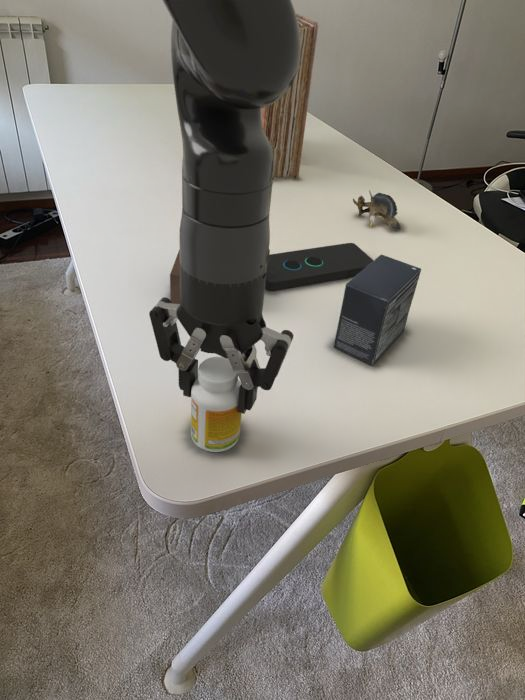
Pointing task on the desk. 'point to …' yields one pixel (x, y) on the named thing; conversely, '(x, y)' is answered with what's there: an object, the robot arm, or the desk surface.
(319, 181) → the desk surface
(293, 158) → the book
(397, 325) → the small box
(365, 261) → the smart home device
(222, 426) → the supplement bottle
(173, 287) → the walnut block
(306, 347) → the desk surface
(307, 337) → the desk surface
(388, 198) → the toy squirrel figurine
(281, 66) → the robot arm
